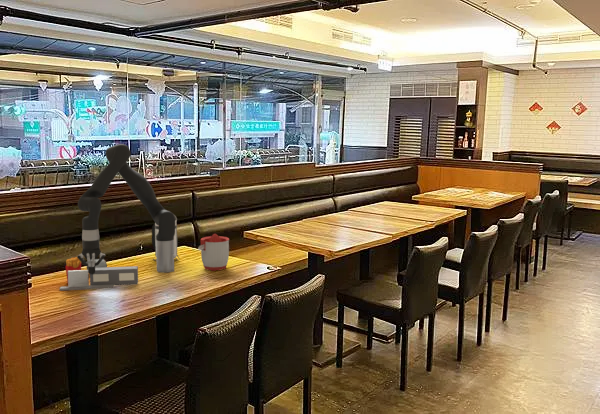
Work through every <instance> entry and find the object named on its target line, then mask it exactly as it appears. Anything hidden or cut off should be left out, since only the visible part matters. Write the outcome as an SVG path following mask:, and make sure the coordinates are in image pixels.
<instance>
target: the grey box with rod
mask: <svg viewBox="0 0 600 414" xmlns="http://www.w3.org/2000/svg"><path fill="white" fill-rule="evenodd" d="M138 284H139V266H138V265H137V266H135V265H133V266H112V267H110V266H107V267H104V268H95V273H94V274H89V286H80V287H68V286H60V287H59V292H60V291H61V292H62V291H78V290H79V291H80V290H84V291H85V290H102V289H114V286H132V285H134V286H136V285H138Z"/></svg>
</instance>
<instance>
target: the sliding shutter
mask: <svg viewBox="0 0 600 414" xmlns="http://www.w3.org/2000/svg"><path fill="white" fill-rule="evenodd" d="M67 284H68V287H80V286H89V285H90V274H89V273H88V270H87V269H81V270H72V271H68V282H67Z"/></svg>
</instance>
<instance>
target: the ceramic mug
mask: <svg viewBox="0 0 600 414" xmlns="http://www.w3.org/2000/svg"><path fill="white" fill-rule="evenodd" d="M99 259H100V258H96V261H95V263H96V262H97V261H98V260H99ZM86 262H87V261H86ZM87 263H88V262H87ZM91 263H92V259H91ZM104 267H108V264H107V261H106V260H105V258H103V260H102V261H101V262H100V263H99V265H97V266H95V268H104ZM86 270H88V275H90V273H89V267H88V266H86Z"/></svg>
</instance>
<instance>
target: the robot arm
mask: <svg viewBox="0 0 600 414" xmlns="http://www.w3.org/2000/svg"><path fill="white" fill-rule="evenodd" d="M131 154H132V153H131V150H130V147H129V146H128V145H126V144H124V143H119V144H115V145H112V146H110V147H108V148H107V149H106V150H105V157H106V159H107V161H108V164H107V166H105V168H104V169H102V170H101V171H100V173H99V174H97V176H96V178H95V179H94V180H93V182H92V184H91V186H90V187H88V189H87V190H86V191H84V192H83V194H82V195H80V197H79V198H78V201H77V207H78V209H79V210H80V211H82V212H88V215H87V216H84V217H83V218H82V219H81V222H82V223H81V225H82V233H81V239H82V251H81V253H79V254H78V255H77V256H76V257H77V258H78V259H79V260H80V261H81V264H82V265H83V266H85V267H87V266H88V267H89V273H90V274H94V273H95V266H97V265H99V263H100V262H101V261H102V260H103V259H105V257H106V254H105V253H102V250H101V249H100V231H99V218H100V214H101V210H102V202H101V199H100V198H102V197H103V196H104V195H105V193H106V192H107V190H108V189H109V186H110V185H111V184H112V182H113V180H114V179H115V177H116V176H117V174H119V175H120V176H121V177H122V179H123V180H124V181H125V183H126V184H127V186H128V187H129V188H130V190H131V191H132V193H133V194H134V195H135V196H136V197H137V199H138V200H139V202H140V203H141V204H142V205H143V206H144V207H145V208H146V210H147V212H148V213H149V215H150V217H151V218H152V220H153V221H154V224H155V223H156V224H157V225H158V226H159V232H158V234H157V235H156V256H155V258H156V272H158V273H164V274H165V273H172V272H173V273H174V272H175V258H174V235H175V216H176V215H175V214H174V213H173V212H171V211H170V210H167V209H165V207H163V206H162V204H161V203H160V202H159V201H158V198H157V196H156V193H155V191H154V188H153V187H152V185H151V183H150V182H149V181H148V179H147V178H146V177H145V176H144V175H143V174H141V173H140V172H139V171H136V170H135V169H133V167H131V165H129V164H128V161H129V159H130V158H131ZM174 215H175V216H174ZM98 257H99V258H98ZM96 259H99V260H98V261H97V262H96V263H95V261H96ZM86 260H87V261H86ZM91 260H92V263H91ZM87 262H88V263H87ZM89 273H88V274H89ZM90 274H89V275H90Z"/></svg>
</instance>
